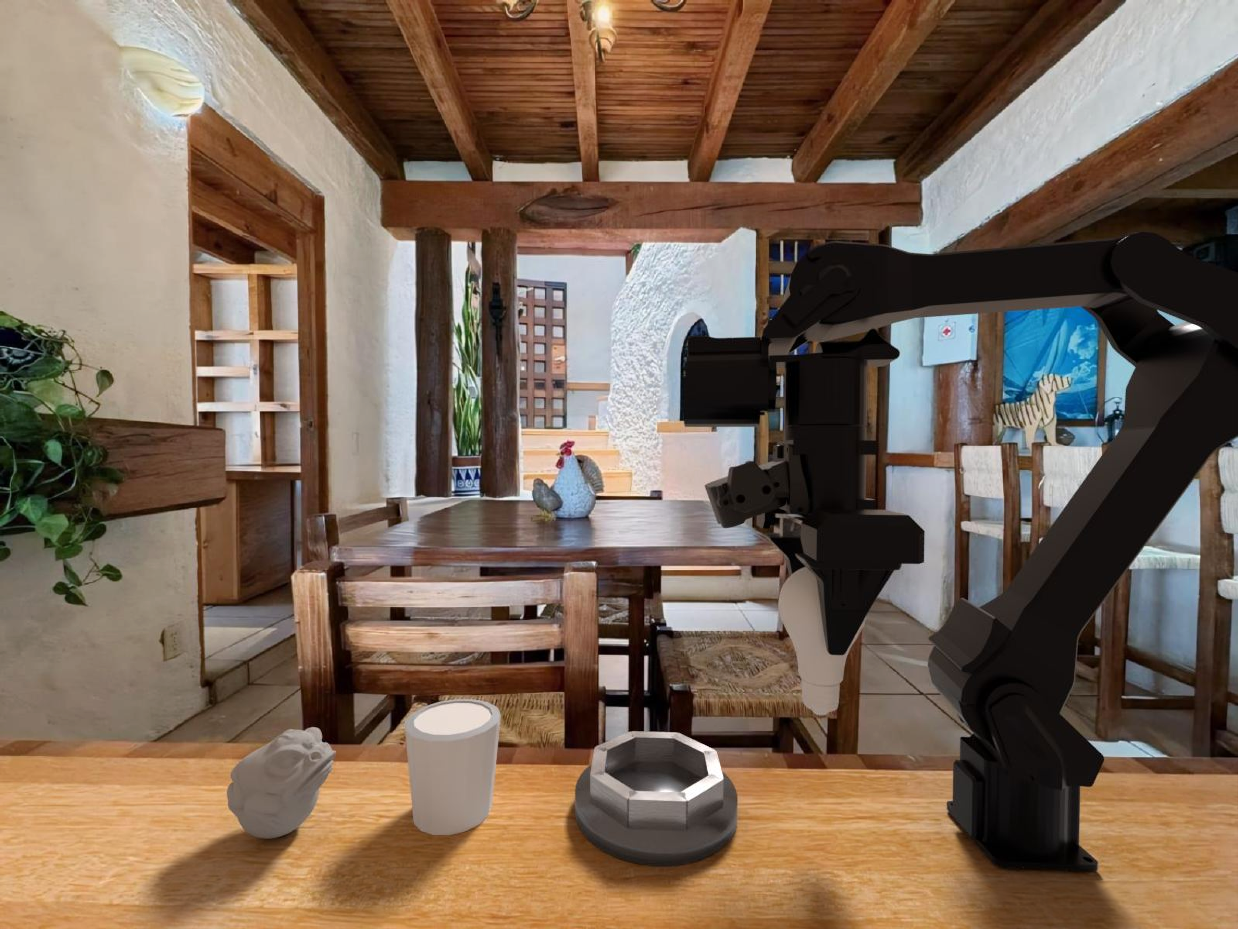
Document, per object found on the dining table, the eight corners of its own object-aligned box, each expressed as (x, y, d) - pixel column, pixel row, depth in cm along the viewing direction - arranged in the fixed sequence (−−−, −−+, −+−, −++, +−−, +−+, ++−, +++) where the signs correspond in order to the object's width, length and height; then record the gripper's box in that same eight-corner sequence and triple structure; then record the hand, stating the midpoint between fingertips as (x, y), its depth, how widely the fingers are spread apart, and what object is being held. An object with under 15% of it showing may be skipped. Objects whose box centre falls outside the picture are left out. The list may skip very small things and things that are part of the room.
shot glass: (475, 848, 38) (476, 744, 38) (383, 834, 40) (383, 733, 40) (514, 790, 45) (514, 701, 45) (434, 779, 47) (434, 693, 46)
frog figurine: (301, 866, 37) (302, 758, 36) (200, 858, 37) (200, 751, 37) (354, 808, 43) (355, 715, 43) (266, 802, 43) (266, 710, 43)
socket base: (724, 768, 49) (725, 727, 49) (751, 869, 37) (752, 815, 37) (583, 763, 49) (583, 723, 49) (564, 862, 37) (565, 808, 37)
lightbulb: (789, 733, 39) (791, 573, 39) (768, 695, 45) (770, 557, 45) (879, 735, 39) (882, 574, 39) (846, 697, 45) (848, 558, 45)
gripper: (700, 432, 52) (698, 604, 52) (733, 417, 33) (730, 687, 33) (826, 432, 51) (823, 607, 51) (931, 419, 33) (926, 692, 33)
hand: (821, 639), depth 42 cm, fingers closed on lightbulb, 6 cm apart
